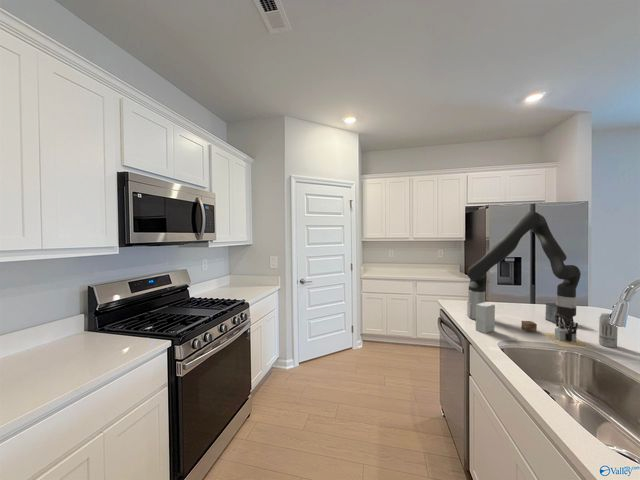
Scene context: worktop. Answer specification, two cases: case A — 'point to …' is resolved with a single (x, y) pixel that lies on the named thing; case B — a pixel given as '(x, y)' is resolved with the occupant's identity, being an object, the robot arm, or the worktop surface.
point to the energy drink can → (607, 332)
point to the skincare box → (485, 317)
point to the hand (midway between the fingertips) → (565, 338)
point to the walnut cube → (529, 326)
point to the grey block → (563, 335)
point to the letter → (567, 343)
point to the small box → (551, 312)
